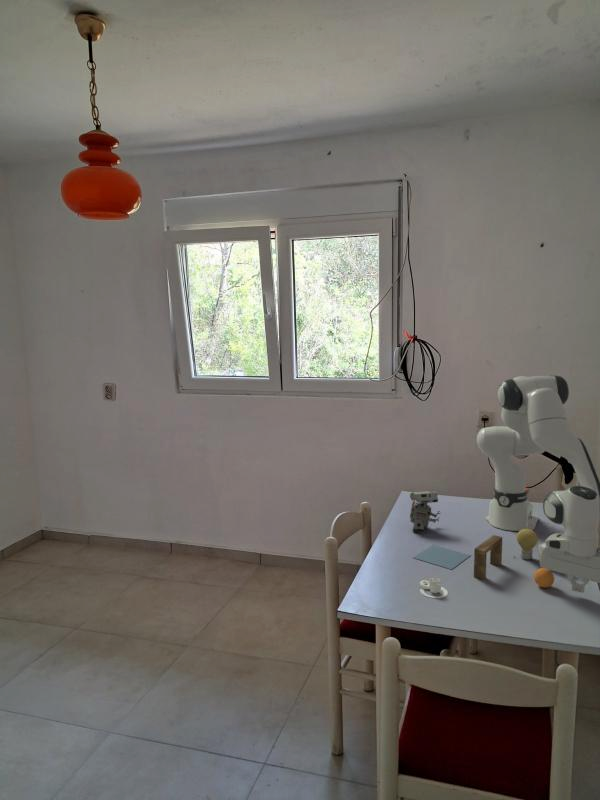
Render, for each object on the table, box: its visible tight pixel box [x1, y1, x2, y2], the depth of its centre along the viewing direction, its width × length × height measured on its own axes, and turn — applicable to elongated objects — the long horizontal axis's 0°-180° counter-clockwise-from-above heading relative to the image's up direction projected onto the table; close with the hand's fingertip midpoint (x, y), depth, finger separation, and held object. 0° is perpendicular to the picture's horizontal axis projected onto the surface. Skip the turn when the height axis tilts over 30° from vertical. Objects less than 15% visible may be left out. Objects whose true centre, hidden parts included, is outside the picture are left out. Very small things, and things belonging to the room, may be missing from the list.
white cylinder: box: [538, 541, 554, 572], centre depth 173 cm, size 7×7×7 cm
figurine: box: [409, 490, 441, 534], centre depth 207 cm, size 9×12×15 cm
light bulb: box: [516, 529, 538, 561], centre depth 180 cm, size 6×6×10 cm
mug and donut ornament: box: [419, 577, 449, 599], centre depth 159 cm, size 9×8×4 cm
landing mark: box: [413, 544, 471, 571], centre depth 182 cm, size 14×14×1 cm
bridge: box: [473, 534, 503, 581], centre depth 171 cm, size 3×14×9 cm, turn 138°
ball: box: [533, 567, 555, 589], centre depth 160 cm, size 6×6×6 cm
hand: (578, 590), depth 154 cm, fingers closed
